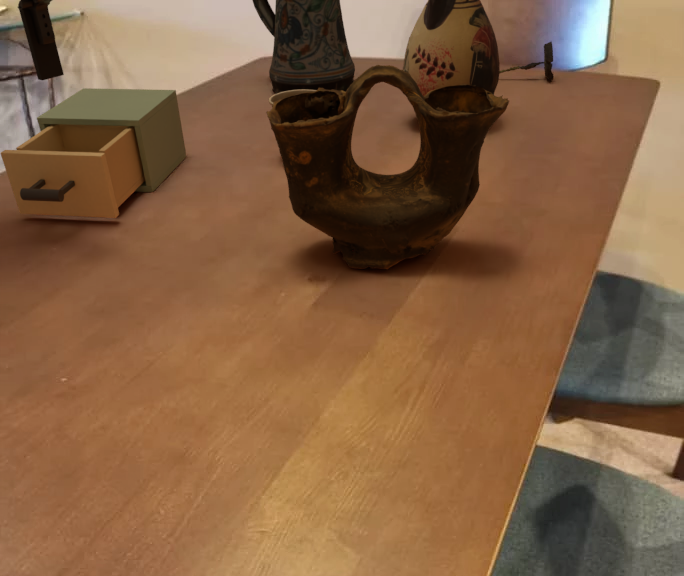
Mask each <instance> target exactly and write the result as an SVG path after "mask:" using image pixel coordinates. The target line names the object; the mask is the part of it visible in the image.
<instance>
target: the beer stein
mask: <svg viewBox="0 0 684 576" xmlns="http://www.w3.org/2000/svg"><path fill="white" fill-rule="evenodd" d="M252 3H253V7H254V9H255V11H256V13H257V15H258V17H259V18H260V21H261V22H262V23H263V25H264V26H265V28H266V30H268V32H269V34H271V36H272V37H273V50H272V56H271V57H272V58H271V63H270V66H269V70H268V75H269V79H270V83H271V85H272V91H273V92H274V94H277V93H280V92H284V91H289V90H290V91H291V90H302V89H303V90H304V89H305V90H318V88H324V89H326V90H332V89H334V90H337V91H342V90H343V91H344V92H346V91H347V89H348V88H349V87H350V85H351V84H352V83H353V82H354V81H355V80H354V77H355V72H356V66H355V65H356V64H355V63H354V61H353V59H352V56H351V53H350V52H351V51H350V49H349V45H348V41H347V36H346V31H345V26H344V20H343V12H342V6H341V0H275V11H274V10H273V8H272V5H270V2H269V1H268V0H252Z"/></svg>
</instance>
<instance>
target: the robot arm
mask: <svg viewBox="0 0 684 576" xmlns="http://www.w3.org/2000/svg"><path fill="white" fill-rule="evenodd" d="M52 1H53V0H19V1H18V6H17V9H18V11H19V15H20V18H21V21H22V25H23V29H24V33H25V37H26V40H27V44H28V48H29V51H30V54H31V59H32V62H33V65H34V69H35V73H36V76H37V80H39V81H46V80H50V79H53V78H57V77H61V76H64V75H65V73H64V70H63V66H62V62H61V57H60V54H59V51H58V46H57V41H56V35H55V31H54V27H53V23H52V20H51V19H52V18H51V15H50V11H49V6H50V4H51V2H52Z"/></svg>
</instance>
